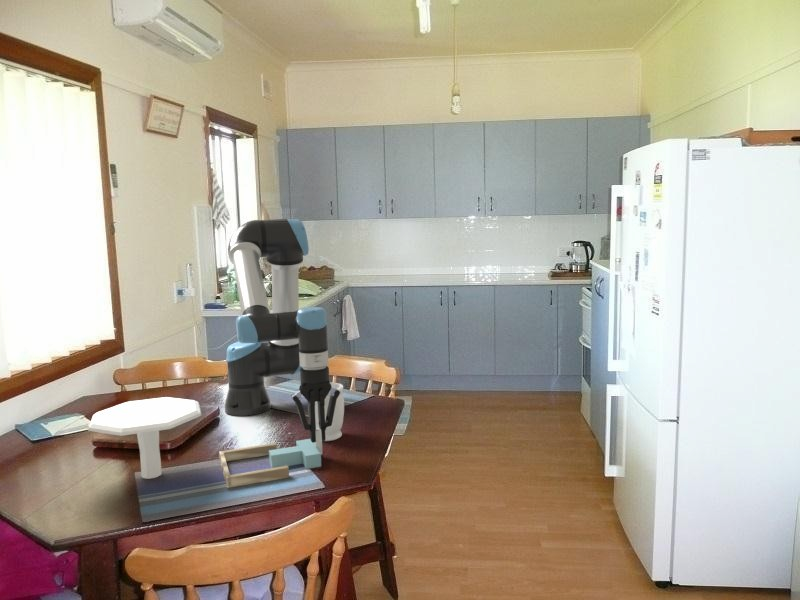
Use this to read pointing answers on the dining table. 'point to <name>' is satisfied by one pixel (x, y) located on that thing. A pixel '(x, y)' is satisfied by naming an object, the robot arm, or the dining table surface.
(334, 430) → the jar
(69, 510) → the dining table surface
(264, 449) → the dock
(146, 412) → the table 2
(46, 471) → the dining table surface
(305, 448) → the t block
